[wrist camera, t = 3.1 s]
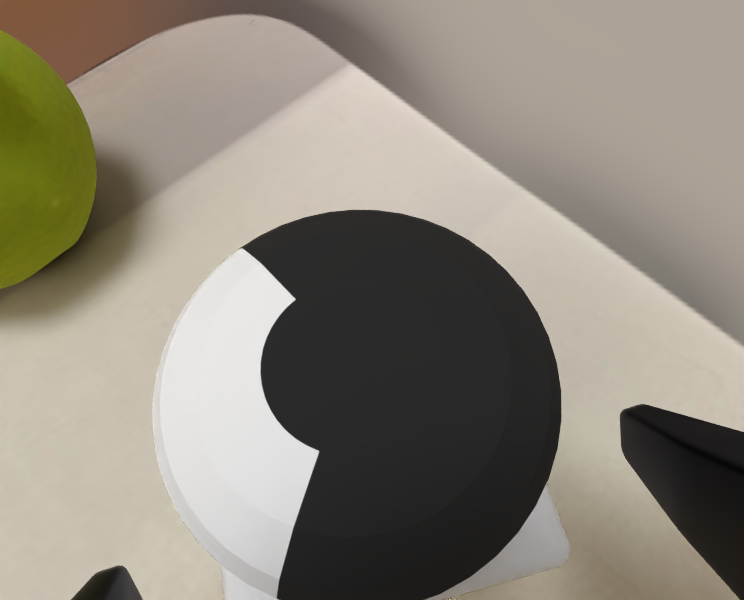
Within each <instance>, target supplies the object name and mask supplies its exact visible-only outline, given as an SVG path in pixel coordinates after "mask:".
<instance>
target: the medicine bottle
mask: <svg viewBox="0 0 744 600" xmlns="http://www.w3.org/2000/svg"><path fill="white" fill-rule="evenodd" d="M152 415H153V438H154V444H155V450H156V456H157V462H158V465H159V468H160V471H161V474H162V477H163V480H164V484H165V487H166V490H167V492H168V494H169V496H170V498H171V500H172V502H173V504H174V506H175V508H176V510H177V512H178V514H179V516H180V518H181V519H182V520H183V522H184V523H185V525H186V526H187V527H188V529H189V530H190V532H191V533H192V534H193V536H194V537H195V539H196V540H197V541H198V543H199V544H200V545H201V546H202V547H203V548H204V549H205V550H206V551H207V552H208V553H209V554H210V555H211V556H212V557H213V558H214V559H215V560H216V561H217V562H218V563H219V564H220V565H221V573H222V583H223V593H224V600H444V599H447V598H451V597H454V596H458V595H461V594H465V593H469V592H472V591H476V590H479V589H483V588H486V587H490V586H493V585H497V584H500V583H504V582H508V581H511V580H515V579H518V578H522V577H525V576H529V575H532V574H536V573H540V572H543V571H547V570H550V569H554V568H557V567H559V566H561V565H562V564H564V563H565V562H566V561H567V559H568V557H569V554H570V548H569V542H568V540H567V537H566V534H565V532H564V529H563V526H562V523H561V521H560V518H559V515H558V513H557V510H556V507H555V505H554V502H553V499H552V497H551V494H550V491H549V488H548V486H547V481H548V479H549V476H550V472H551V469H552V465H553V462H554V459H555V455H556V452H557V448H558V440H559V433H560V425H561V388H560V381H559V375H558V369H557V363H556V359H555V356H554V353H553V349H552V346H551V343H550V340H549V337H548V334H547V332H546V330H545V328H544V326H543V324H542V321H541V319H540V317H539V315H538V313H537V311H536V310H535V308H534V307H533V305H532V303H531V302H530V300H529V299H528V297H527V296H526V294H525V292H524V291H523V290H522V288H521V287H520V286H519V285H518V284H517V283H516V281H515V280H514V279H513V278H512V277H511V275H510V274H509V273H508V272H507V271H506V270H505V269H504V268H503V267H502V266H501V265H500V264H499V263H497V262H496V261H495V260H494V259H493V258H492V257H491V256H490V255H489V254H487V253H486V252H485V251H483V250H482V249H480V248H479V247H477V246H476V245H475V244H473V243H472V242H470V241H469V240H467V239H466V238H464V237H462V236H460V235H458V234H456V233H454V232H452V231H451V230H449V229H447V228H444V227H442V226H439V225H437V224H434V223H432V222H429V221H426V220H424V219H420V218H416V217H412V216H408V215H404V214H400V213H393V212H385V211H378V210H347V211H336V212H328V213H323V214H318V215H314V216H309V217H305V218H302V219H299V220H296V221H293V222H290V223H287V224H284V225H281V226H279V227H277V228H275V229H273V230H271V231H269V232H267V233H265V234H263V235H260V236H259V237H257V238H256V239H254V240H252V241H251V242H249V243H248V244H246V245H244V246H243V247H241V248H240V249H238V250H237V251H236V252H235V253H233V254H232V255H231V256H230V257H228V258H227V259H226V260H225V261H223V262H222V263H221V264H220V265H219V266H218V267H217V268H216V269H215V270H214V271H213V272H212V273H211V274H210V275H209V276H208V277H207V278H206V279H205V280H204V281H203V282H202V283H201V285H200V286H199V287H198V288H197V290H196V291H195V292H194V294H193V295H192V296H191V298H190V299H189V300H188V302H187V303H186V305H185V306H184V308H183V310H182V312H181V313H180V315H179V317H178V318H177V320H176V322H175V324H174V325H173V328H172V330H171V332H170V335H169V337H168V340H167V342H166V344H165V347H164V349H163V352H162V356H161V359H160V363H159V367H158V371H157V374H156V379H155V387H154V395H153V403H152Z"/></svg>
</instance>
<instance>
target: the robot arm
mask: <svg viewBox="0 0 744 600" xmlns="http://www.w3.org/2000/svg"><path fill="white" fill-rule="evenodd" d="M620 431H621V447H622V451H623V454H624V456H625V458H626V460H627V461H628V463H629V464H630V465H631V467H632V468H633V469H634V471H635V472H636V473H637V475H638V476H639V477H640V479H641V480H642V482H643V483H644V484H645V486H646V487H647V488H648V490H649V491H650V492H651V494H652V495H653V496H654V498H655V499H656V501H657V502H658V503H659V505H660V506H661V507H662V509H663V510H664V511H665V513H666V514H667V515H668V517H669V518H670V520H671V521H672V522H673V523H674V525H675V526H676V527H677V529H678V530H679V531H680V532H681V534H682V535H683V536H684V537H685V538H686V539H687V541H688V542H689V543H690V544H691V545H692V546H693V547H694V549H695V550H696V551H697V552H698V553H699V554H700V555H701V556H702V557H703V559H704V560H705V561H706V562H707V563H708V564H709V565H710V566H711V568H712V569H713V570H714V571H715V572H716V573H717V574H718V575H719V576H720V578H721V579H722V580H723V581H724V582H725V583H726V584H727V585H728V587H729V588H730V589H731V590H732V591H733V592H734V593H735V594H736V595H737V597H738V598H739V599H740V600H744V432H741V431H738V430H734V429H731V428H727V427H723V426H720V425H716V424H713V423H709V422H706V421H702V420H699V419H695V418H692V417H688V416H685V415H681V414H678V413H674V412H670V411H667V410H663V409H660V408H656V407H653V406H649V405H645V404H640V405H636V406H633V407H630V408H627V409H624V410H623V411H622V412H621V414H620ZM71 600H143V599H142V597H141V595H140V593H139V591H138V589H137V587H136V586H135V584H134V582H133V580H132V578H131V576H130V574H129V572H128V571H127V569H126V568H125V567H123V566H115V567H112V568H109V569H106V570H102V571H100V572H97V573H96V574H95V575H94V576H92V577H91V579H90V580H89V581H88V582H87V583H86V584H85V585H84V586H83V587H82V588H81V590H80V591H79V592H78V593H77V594H76V595H75V596H74V597H73V598H72V599H71Z"/></svg>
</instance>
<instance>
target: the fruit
mask: <svg viewBox="0 0 744 600" xmlns="http://www.w3.org/2000/svg"><path fill="white" fill-rule="evenodd" d="M96 183H97V171H96V158H95V150H94V145H93V141H92V137H91V133H90V129H89V127H88V124H87V122H86V119H85V117H84V114H83V112H82V109H81V108H80V106H79V104H78V102H77V101H76V99H75V97H74V96H73V94H72V92H71V91H70V89H69V88H68V87H67V85H66V84H65V83H64V82H63V80H62V79H61V78H60V77H59V75H58V74H57V73H56V72H55V71H54V70H53V69H52V68H51V67H50V66H49V65H48V64H47V63H46V62H45V61H44V60H43V59H42V58H41V57H40V56H38V55H37V54H36V53H35V52H34V51H32V50H31V49H30V48H29V47H27V46H26V45H25V44H23V43H22V42H20V41H18V40H17V39H15V38H13V37H12V36H10V35H8V34H7V33H5V32H3V31H2V30H0V289H1V288H5V287H9V286H12V285H15V284H17V283H19V282H21V281H23V280H25V279H27V278H29V277H30V276H32V275H33V274H35V273H36V272H37V271H39V270H40V269H41V268H43V267H44V266H45V265H47V264H48V263H49V262H51V261H52V260H53V259H55V258H56V257H57V256H59V255H60V254H61V253H63V252H64V251H66V250H67V249H69V248H70V247H72V246H73V245H74V244H75V243H76V242H77V241H78V239H79V238H80V236H81V234H82V232H83V230H84V228H85V226H86V224H87V221H88V219H89V216H90V213H91V210H92V206H93V202H94V198H95V191H96Z"/></svg>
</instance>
